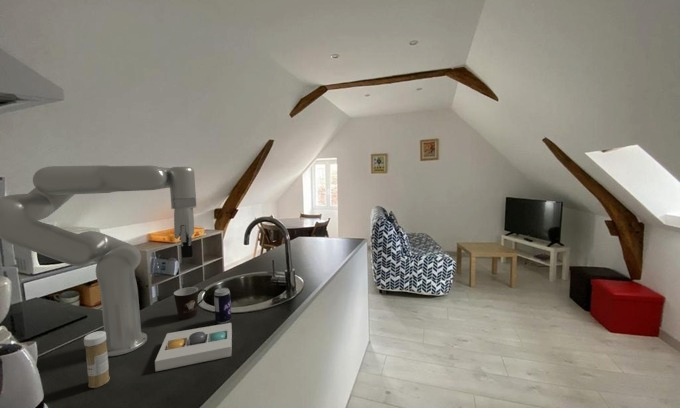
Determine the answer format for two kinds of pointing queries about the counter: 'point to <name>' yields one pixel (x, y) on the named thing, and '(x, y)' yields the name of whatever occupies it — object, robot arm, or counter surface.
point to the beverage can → (222, 305)
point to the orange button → (176, 344)
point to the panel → (194, 348)
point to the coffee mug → (187, 302)
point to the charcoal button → (197, 338)
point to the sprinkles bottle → (97, 359)
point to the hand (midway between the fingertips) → (187, 256)
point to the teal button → (217, 336)
